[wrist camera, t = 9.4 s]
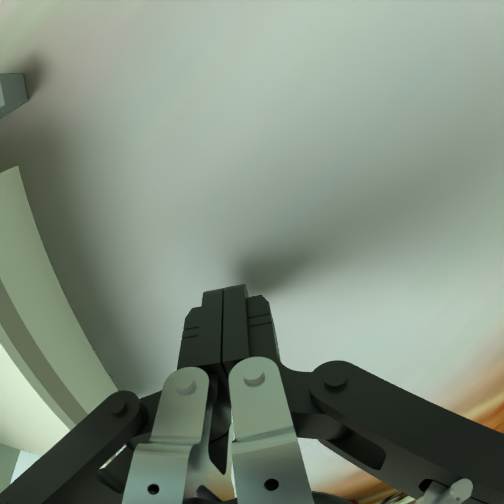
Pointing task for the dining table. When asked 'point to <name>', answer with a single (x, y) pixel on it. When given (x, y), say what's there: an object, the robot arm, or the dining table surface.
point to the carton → (39, 338)
